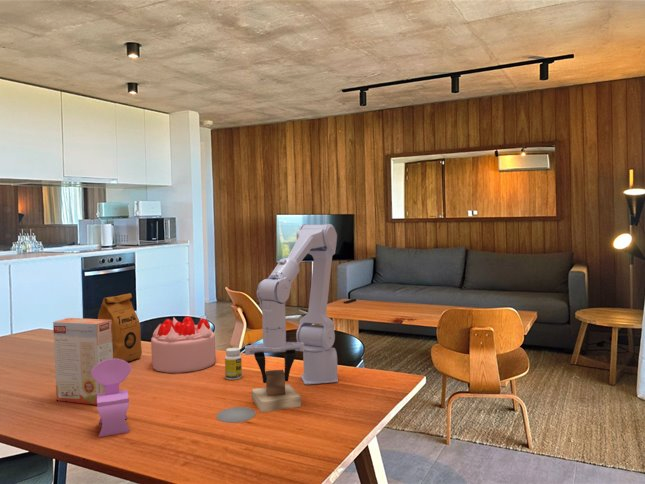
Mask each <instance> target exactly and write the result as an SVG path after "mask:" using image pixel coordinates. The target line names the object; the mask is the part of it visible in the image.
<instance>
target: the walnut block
mask: <svg viewBox="0 0 645 484" xmlns="http://www.w3.org/2000/svg"><path fill="white" fill-rule="evenodd" d="M284 372H285V370H284V369H273V370H265V373H266V383H265V387H266V392H267V396H273V395H285V385H286V381H285V374H284Z"/></svg>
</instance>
